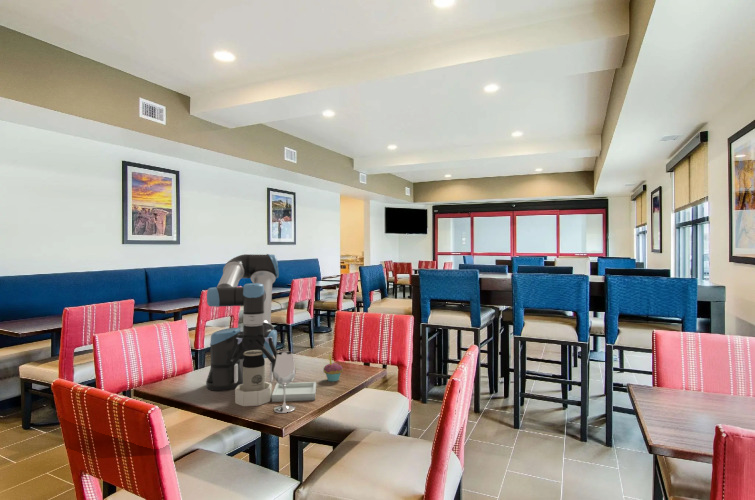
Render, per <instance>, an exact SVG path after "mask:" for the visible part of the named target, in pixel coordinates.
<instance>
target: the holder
mask: <svg viewBox="0 0 755 500" xmlns="http://www.w3.org/2000/svg"><path fill="white" fill-rule="evenodd" d="M234 390H235V392H234V395H235V396H234V398H235V399H234V401H235V404H237V405H239V406H241V407H255V406H256V407H257V406H261V405H264V404H267V403H270V402H271V401H272V393H273V383H271V382H268V381H265V389H263V390H260V391H250V392H244V391H243V384H240V385H238V386H237V388H235V389H234Z"/></svg>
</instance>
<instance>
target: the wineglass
mask: <svg viewBox="0 0 755 500" xmlns="http://www.w3.org/2000/svg"><path fill="white" fill-rule="evenodd" d="M277 352H278V353H276V358H275V357H274V359H275V363H274V368H273V380H274V381H275V382H276V383H278V384H280V385H282V386H283V401H282V402H283V403H282V404H279V405H277V406H275V407H273V411H274V412H275V413H278V414H285V413H286V414H288V413H291V412H294V411H295V410H296V406H295V405H293V404H287V401H285V392H286V385H288V384H289V383H293V381H294V380H295V377H296V371H297V370H296V364H295V359H294V355H293V352H292V351H290V350H289V351H287V350H286V351H285V350H283V351H282V350H281V351H277ZM287 412H288V413H287Z"/></svg>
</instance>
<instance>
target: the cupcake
mask: <svg viewBox="0 0 755 500" xmlns="http://www.w3.org/2000/svg"><path fill="white" fill-rule="evenodd" d="M328 359H329V363H328V364H326V365H325V366H324V367H323V373H324V374H325V375H326V378H327V381H328V382H338V381H339V380H340V377H341V374H342V373H343V372H344V369H343V366H342V365H341V364H339V363H338V362H332V356H331V354H330V352H329V353H328Z"/></svg>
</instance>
